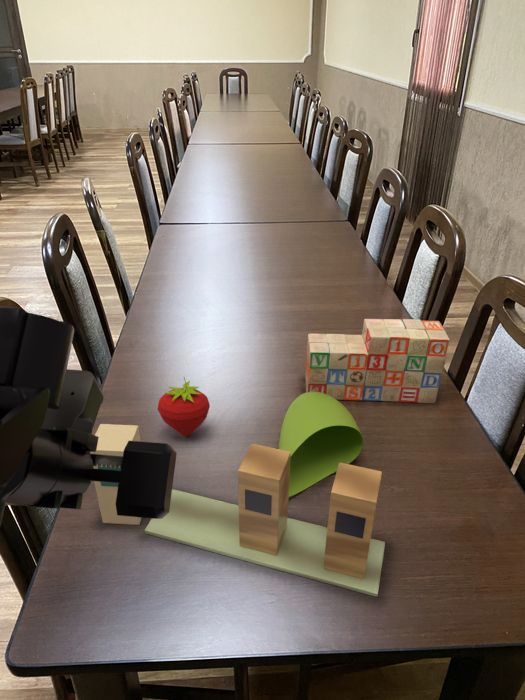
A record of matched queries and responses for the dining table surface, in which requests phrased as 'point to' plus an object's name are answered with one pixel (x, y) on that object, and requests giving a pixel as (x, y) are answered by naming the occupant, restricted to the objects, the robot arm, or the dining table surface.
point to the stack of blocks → (379, 361)
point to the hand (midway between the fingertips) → (98, 478)
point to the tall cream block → (113, 444)
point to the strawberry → (184, 408)
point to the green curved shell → (317, 439)
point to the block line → (285, 524)
